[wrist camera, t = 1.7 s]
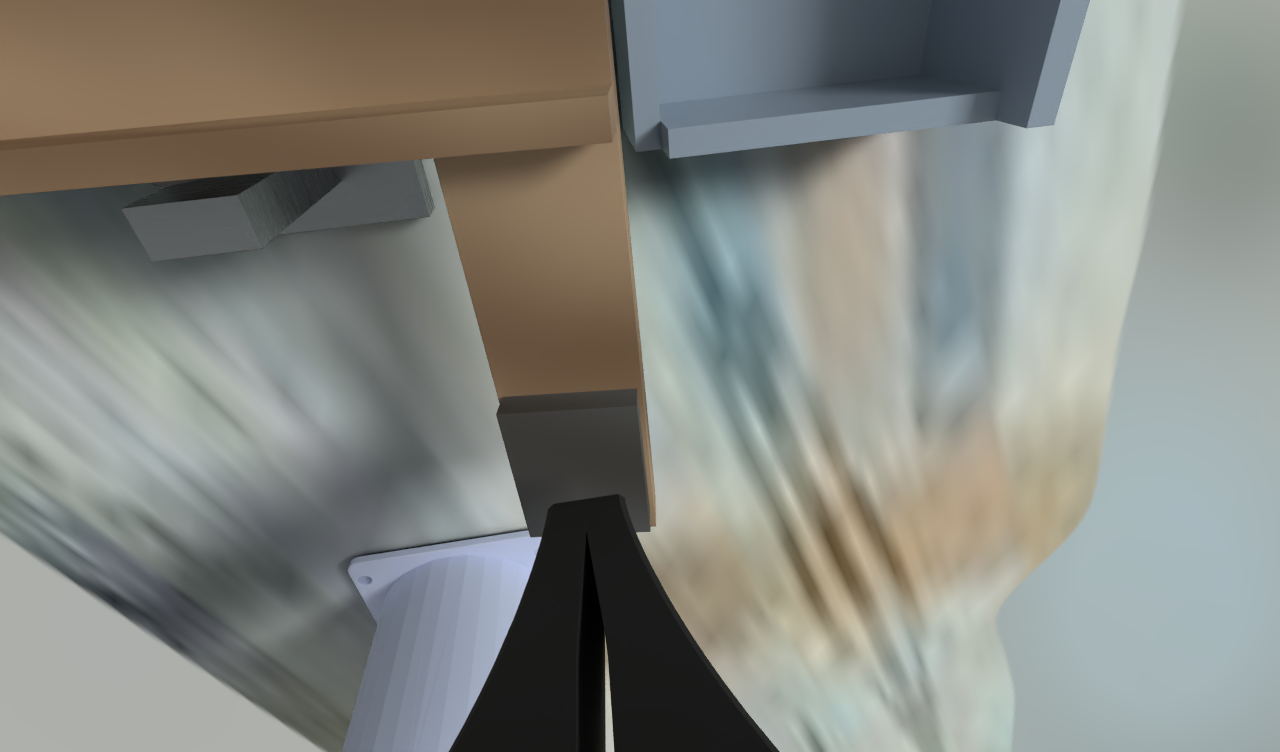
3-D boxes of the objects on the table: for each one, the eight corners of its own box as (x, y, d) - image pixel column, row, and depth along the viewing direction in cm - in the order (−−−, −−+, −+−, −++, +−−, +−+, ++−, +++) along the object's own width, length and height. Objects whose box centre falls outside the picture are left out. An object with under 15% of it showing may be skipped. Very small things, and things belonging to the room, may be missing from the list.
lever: (655, 482, 15) (656, 582, 13) (85, 513, 16) (-22, 612, 14) (559, -539, 7) (501, -888, 4) (-668, -351, 7) (-1375, -539, 5)
